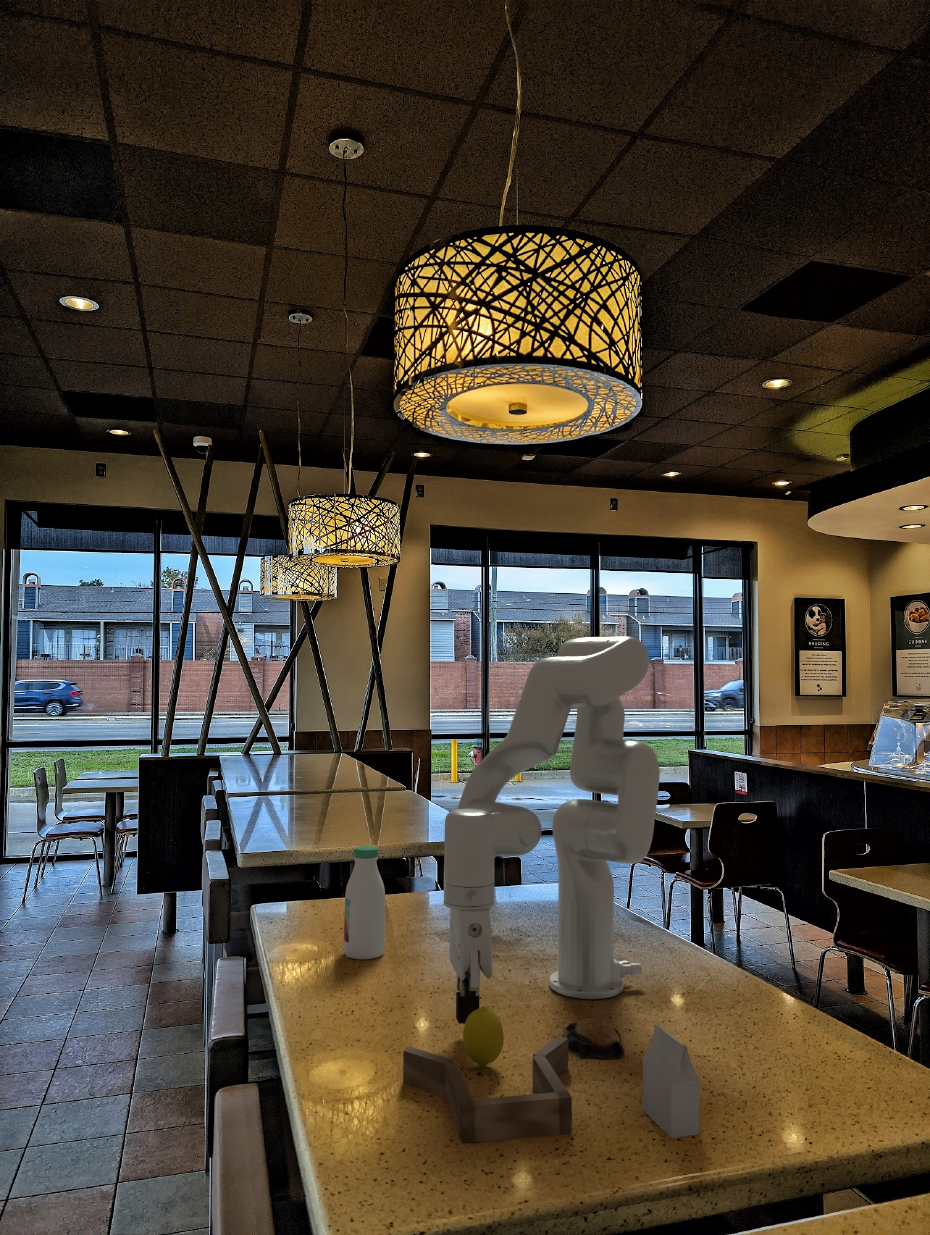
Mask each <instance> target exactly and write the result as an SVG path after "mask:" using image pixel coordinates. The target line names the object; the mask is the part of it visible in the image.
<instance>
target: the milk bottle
mask: <svg viewBox="0 0 930 1235" xmlns="http://www.w3.org/2000/svg"><path fill="white" fill-rule="evenodd" d="M378 856H379V848H378V847H377V846H373V845H360V846H356V847H354V848H353V860H354V867H353V870H352V872H351V874H350V877H349V879H348V882H347V885H346V888H345V896H344V898H345V899H344V918H343V921H344V922H343V924H344V925H343V926H344V927H343V931H344V932H343V954H344V955H345V957H347V958H350V959H352V960H353V959H354V960H373V959H376V958H379V957H382V956H383V955H384V952H385V948H386V947H385V945H386V943H385V942H386V941H385V940H386V939H385V938H386V937H385V936H386V891H385V890H386V889H385V885H384V882H383V879H382V877H381V874H380V872H379V869H378V864H377V861H378V859H379V857H378Z"/></svg>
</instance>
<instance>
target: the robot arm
mask: <svg viewBox="0 0 930 1235" xmlns="http://www.w3.org/2000/svg"><path fill="white" fill-rule="evenodd" d="M647 649H648V648H647V647H646V645H645V644H644V643H643V642H642V641H641V640H640V639H638V638H635V637H633V636H591V637H589V636H587V637H577V638H573V639H572V638H571V639H569V640H567V641H564V642H563V643H562V644H561V645H560V647H559V648H558V650H557V656H550V657H544V658H541V659H539V660H536V661H535V663H534V664H533V665H532V667H531V668H530V670H529V672H528V675H527V677H526V680H525V684H524V686H523V689H522V692H521V695H520V697H519V701H518V703H517V706H516V710H515V712H514V715H513V717H512V721H511V723H510V726H509V729H508V732H507V735H505V738H504V739H503V740H502V741H500V742H499V743H498V744H497V745H496V746H494V747H493V748H492V749H491V750H490V751H489V752H488V753H487V754H486V756H484V758H483V759H481V761H480V762H479V763H478V764H476V766H475V767H474V768H473V770H472V772H471V773H470V775H469V777H468V779H467V780H466V783H465V785H464V789H463V791H462V793H461V797H460V799H459V803H458V805H457V809H453V810H451V811H449V812H448V813H446V816H445V818H444V844H443V845H444V846H443V847H444V852H443V853H444V854H443V857H444V858H443V860H444V861H443V862H444V863H443V905H444V907H446V908H448V909H450V910H449V930H448V932H449V940H448V942H449V943H448V944H449V960H450V963H451V965H452V968H453V970H454V971H455V973H456V992H455V995H456V996H455V997H456V998H455V1019H456V1021H457V1023H458V1024H461V1025H465V1022H466V1020H467V1018H468V1016H469V1015H470V1014H471V1013H472V1012H473V1011H475V1010H476V1009H479V1008H480V984H481V982H480V981H481V977H480V976H481V972H482V974H483V975H484V978H486V979H488V980H489V979H491V978H492V977H493V948H492V947H493V946H492V945H493V944H492V942H493V941H492V924H491V915H490V913H491V912H490V908H493V907H494V906H495V858H496V857H499V856H500V857H501V856H502V857H517V856H518V857H519V856H523V855H526V854H528V853H530V852H532V851H533V850H534V849H535V848H536V847H537V845H538V844H539V842H540V840H541V837H542V824H541V821H540V818H539V817H538V816H537V814H535V812H534V811H532V810H530V809H529V808H527V807H524V806H519V805H514V804H507V803H503V802H497V801H496V800H497V798H498V797H499V795H500V793H501V791H502V789H503V788H504V787H505V786H506V784H508V783H509V782H510V781H511V780H512V779H513V778H515V777H517V775H519V774H521V773H524V772H525V771H527V770H529V769H532V768H534V767H537V766H539V765H541V764H543V763H545V762H547V761H549V760H551V759H553V758H554V757H555V755H556V754H557V752H558V749H559V746H560V744H561V741H562V740H561V739H562V737H563V733H564V731H565V728H566V724H567V721H568V719H569V715H570V712H571V711H572V709H574V708H576V722H575V730H574V736H573V743H572V750H571V756H570V764H569V776H570V780H571V782H572V784H573V785H574V786H575V787H576V788H577V789H579V790H582V791H585V792H588V793H595V794H603V795H611V796H617V803H614V802H607V801H601V800H595V799H594V800H592V799H584V798H579V799H578V798H577V799H571V800H567V801H565V802H563V803H562V804H561V805H560V806H558V808H557V809H556V811H555V812H554V815H553V818H552V826H551V827H552V836H553V840H554V847H555V852H556V859H557V871H558V872H557V875H558V878H557V880H558V885H557V886H558V896H557V897H558V902H557V905H558V907H557V911H558V912H557V913H558V920H557V921H558V922H557V924H558V925H557V926H558V927H557V928H558V929H557V931H558V934H557V935H558V936H557V939H558V940H557V942H558V944H557V946H558V947H557V948H558V949H557V950H558V951H557V959H558V960H557V962H558V963H557V968H558V970H557V971H555V972H553V973H552V974H550V975H549V978H548V985H549V987H550V988H551V989H552V990H553V991H555V992H556V993H557V994H560V995H563V996H565V997H568V998H575V999H581V1000H582V999H583V1000H600V999H607V998H612V997H615V996H617V995H619V994H621V993H622V992H623V990H624V981H623V979H624V978H625V976H630V977H631V976H642V965H641V963H639V962H638V963H635V962H634V963H629V961H628V960H620V961H618V960H617V959H616V958H615V916H614V915H615V913H614V912H615V907H614V906H615V904H614V903H615V901H614V900H615V887H614V884H615V882H614V879H613V874H612V872H611V869H610V867H609V864H608V862H615V863H620V864H627V865H634V864H637V863H640V862H641V861H643V860H644V859H645V858H646V856H647V855H648V853H649V852H650V848H651V847H652V846H651V845H652V841H653V838H654V836H653V834H654V831H655V830H654V829H655V828H654V827H655V821H656V814H657V813H656V812H657V805H658V804H657V803H658V796H659V787H660V786H659V785H660V779H661V778H660V777H661V771H660V764H659V760H658V757H657V755H656V753H655V751H654V749H653V748H652V747H651V746H649V745H648V744H647V743H645V742H642V741H637V740H629V739H627V740H625V739H624V732H625V721H626V720H625V719H626V717H625V716H626V713H625V709H624V704H623V702H622V701H621V698H620V697H621V696H623V695H624V694H625V693H627V692H629V691H630V690H632V689H634V688H635V687H637V686H638V685H639V684H641V682H642V681H643V680H644V679H645V677H646V675H647V673H648V670H649V666H650V655H649V651H648V650H647ZM607 861H608V862H607Z"/></svg>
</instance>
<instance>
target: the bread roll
mask: <svg viewBox="0 0 930 1235" xmlns="http://www.w3.org/2000/svg"><path fill="white" fill-rule="evenodd" d="M620 1033H621V1032H619V1030H618V1029H617V1028H616V1027H613V1026H612V1025H611V1024H610V1023H609V1022H608V1021H606V1020H604V1019H602V1018H599V1017H597V1018H596V1017H593V1018H584V1019H581V1020H580V1021H579V1020H578V1022H571V1023H569V1024H568V1025H567V1026H566V1027H565V1028H563V1036H564V1038H568V1050H569V1051H570V1053H571V1054H572V1055H573V1057H574V1058H575V1059H576V1060H602V1061H615V1060H625V1059H626V1052H625V1048H624V1046H623V1045H622V1037H621V1034H620Z"/></svg>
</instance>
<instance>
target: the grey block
mask: <svg viewBox="0 0 930 1235" xmlns="http://www.w3.org/2000/svg"><path fill="white" fill-rule="evenodd" d="M697 1075H698V1074H697V1072H696V1070H695V1068H694V1065H693V1063H692V1061H691V1058H690V1054H689V1050H688V1047H687V1045H686V1044H684V1043H682V1042H681V1041H680V1040H679V1039H677V1038H676V1037H675V1036H673V1034H671V1033H670V1032H668V1031H667V1030H666V1029H664V1028H663V1027H662V1026H660V1025H659V1024H655V1025H654V1030H653V1033H652V1037H651V1039H650V1042H649V1045H648V1047H647V1050H646V1052H645V1054H644V1057H643V1058H642V1111H643V1112H644V1113H645V1114H646V1115H647V1116H648V1117H650V1119H651V1120H652V1121H653V1122H654V1123H656V1124H657V1125H658V1127H659V1128H660V1129H661V1130H662V1131H663V1132H664V1133H666V1134H667V1136H669V1137H670V1138H671V1139H677V1138H682V1137H688V1136H694V1135H695V1136H696V1135H700V1133H701V1132H700V1129H701V1127H700V1126H701V1125H700V1124H701V1122H700V1121H701V1120H700V1119H701V1116H700V1111H701V1110H700V1108H701V1107H700V1105H701V1104H700V1101H701V1100H700V1080H699V1077H698V1076H697Z"/></svg>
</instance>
